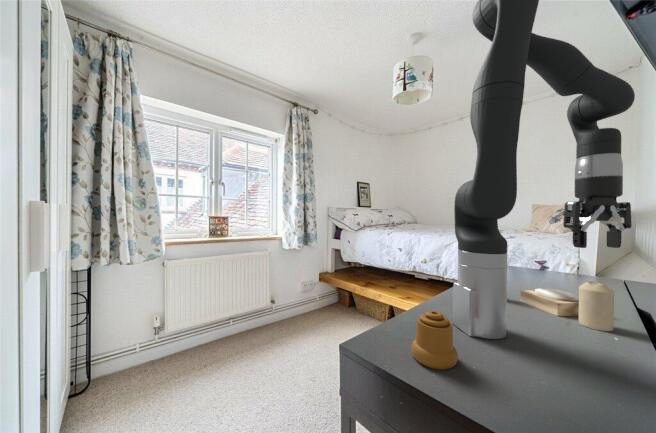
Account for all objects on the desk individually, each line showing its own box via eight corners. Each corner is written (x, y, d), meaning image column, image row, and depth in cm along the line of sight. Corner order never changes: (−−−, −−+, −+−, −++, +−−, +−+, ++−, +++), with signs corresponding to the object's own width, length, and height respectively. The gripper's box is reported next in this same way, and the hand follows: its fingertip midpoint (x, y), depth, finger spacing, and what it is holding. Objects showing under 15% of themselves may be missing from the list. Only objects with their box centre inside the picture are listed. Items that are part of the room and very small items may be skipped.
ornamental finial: (402, 357, 44) (424, 343, 49) (446, 378, 39) (465, 360, 44) (403, 311, 44) (424, 302, 49) (446, 326, 39) (465, 313, 44)
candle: (621, 332, 55) (622, 286, 55) (590, 330, 56) (591, 285, 56) (599, 322, 60) (600, 280, 60) (572, 320, 61) (573, 279, 61)
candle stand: (557, 316, 64) (557, 300, 64) (520, 301, 75) (520, 287, 75) (596, 315, 65) (596, 299, 65) (554, 300, 76) (554, 287, 76)
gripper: (587, 173, 53) (587, 250, 53) (647, 174, 55) (646, 249, 55) (553, 178, 61) (552, 245, 61) (606, 179, 62) (605, 245, 62)
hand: (596, 247), depth 58 cm, fingers open, 8 cm apart
